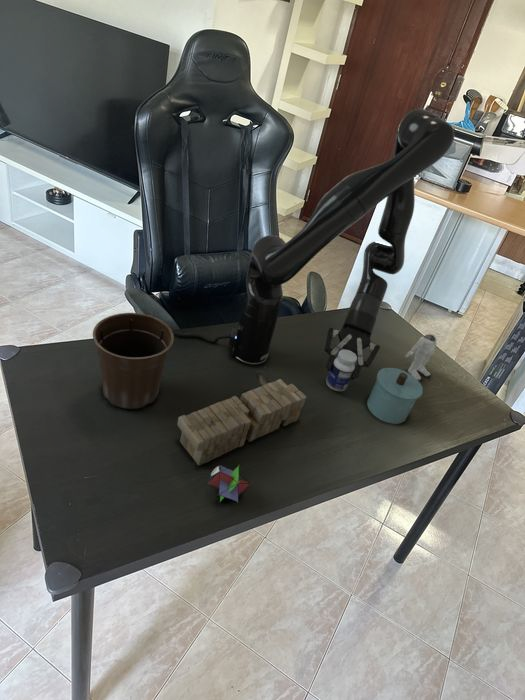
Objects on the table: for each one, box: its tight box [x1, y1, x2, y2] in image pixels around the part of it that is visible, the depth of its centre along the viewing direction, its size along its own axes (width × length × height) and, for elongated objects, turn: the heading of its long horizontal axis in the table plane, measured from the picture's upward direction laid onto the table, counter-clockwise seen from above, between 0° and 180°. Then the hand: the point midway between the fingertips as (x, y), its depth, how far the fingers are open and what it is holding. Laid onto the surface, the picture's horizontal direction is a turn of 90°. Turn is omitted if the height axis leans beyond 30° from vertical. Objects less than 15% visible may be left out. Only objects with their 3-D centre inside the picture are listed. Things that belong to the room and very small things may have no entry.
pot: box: [366, 367, 424, 425], centre depth 121 cm, size 12×12×12 cm
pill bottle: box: [325, 348, 357, 392], centre depth 123 cm, size 6×6×10 cm
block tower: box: [176, 378, 307, 466], centre depth 105 cm, size 8×8×29 cm
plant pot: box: [92, 312, 175, 410], centre depth 105 cm, size 16×16×16 cm
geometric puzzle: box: [207, 464, 251, 503], centre depth 91 cm, size 7×7×8 cm
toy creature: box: [405, 334, 437, 381], centre depth 138 cm, size 12×6×12 cm, turn 126°
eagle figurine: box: [255, 370, 271, 386], centre depth 115 cm, size 8×7×9 cm
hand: (340, 374), depth 122 cm, fingers closed on pill bottle, 5 cm apart
